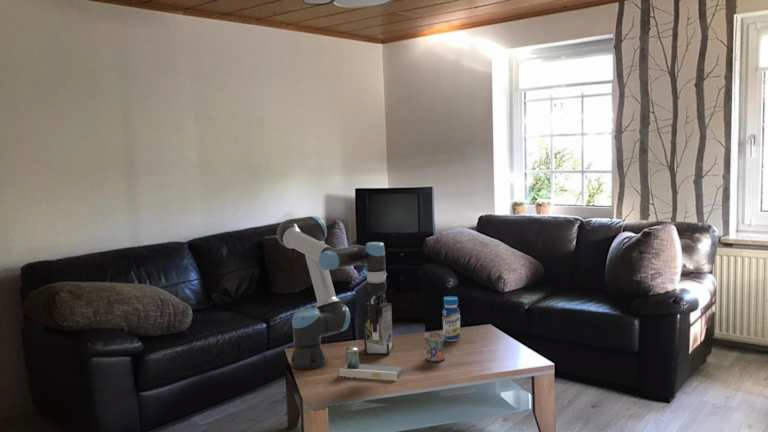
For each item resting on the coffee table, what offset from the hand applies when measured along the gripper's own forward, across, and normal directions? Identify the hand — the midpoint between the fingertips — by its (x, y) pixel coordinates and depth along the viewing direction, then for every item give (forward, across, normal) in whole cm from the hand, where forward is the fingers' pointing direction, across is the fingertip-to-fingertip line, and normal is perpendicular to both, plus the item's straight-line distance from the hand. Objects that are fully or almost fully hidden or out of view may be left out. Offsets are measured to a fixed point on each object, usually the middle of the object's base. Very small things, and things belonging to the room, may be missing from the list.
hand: (379, 336), depth 247 cm
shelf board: (+16, 0, +4) cm, 16 cm away
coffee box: (+3, 0, 0) cm, 3 cm away
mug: (+16, +23, -17) cm, 33 cm away
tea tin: (+14, 0, +12) cm, 18 cm away
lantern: (+16, +28, +10) cm, 34 cm away
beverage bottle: (+16, +51, -19) cm, 57 cm away
